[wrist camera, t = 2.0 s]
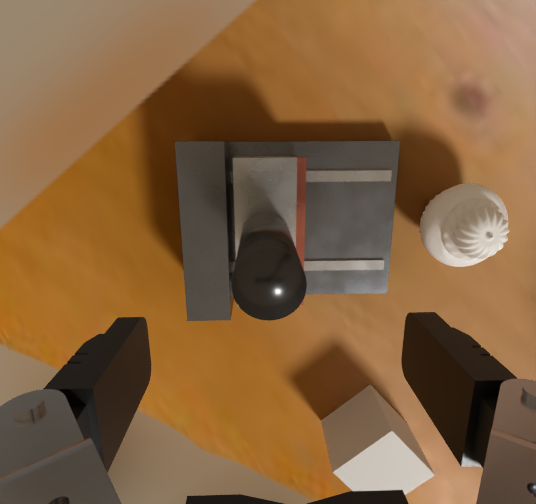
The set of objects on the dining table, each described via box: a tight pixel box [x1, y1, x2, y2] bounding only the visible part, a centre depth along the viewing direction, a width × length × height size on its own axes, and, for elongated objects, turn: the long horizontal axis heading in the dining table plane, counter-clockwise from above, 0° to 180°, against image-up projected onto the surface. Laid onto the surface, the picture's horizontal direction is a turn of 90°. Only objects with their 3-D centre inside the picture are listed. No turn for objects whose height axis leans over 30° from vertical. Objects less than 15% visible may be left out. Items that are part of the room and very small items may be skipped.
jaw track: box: [175, 141, 400, 321], centre depth 27 cm, size 12×16×6 cm
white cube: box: [321, 384, 435, 495], centre depth 33 cm, size 6×6×6 cm
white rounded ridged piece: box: [420, 183, 510, 267], centre depth 27 cm, size 6×6×7 cm
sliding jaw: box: [232, 156, 307, 320], centre depth 22 cm, size 10×5×13 cm, turn 0°
